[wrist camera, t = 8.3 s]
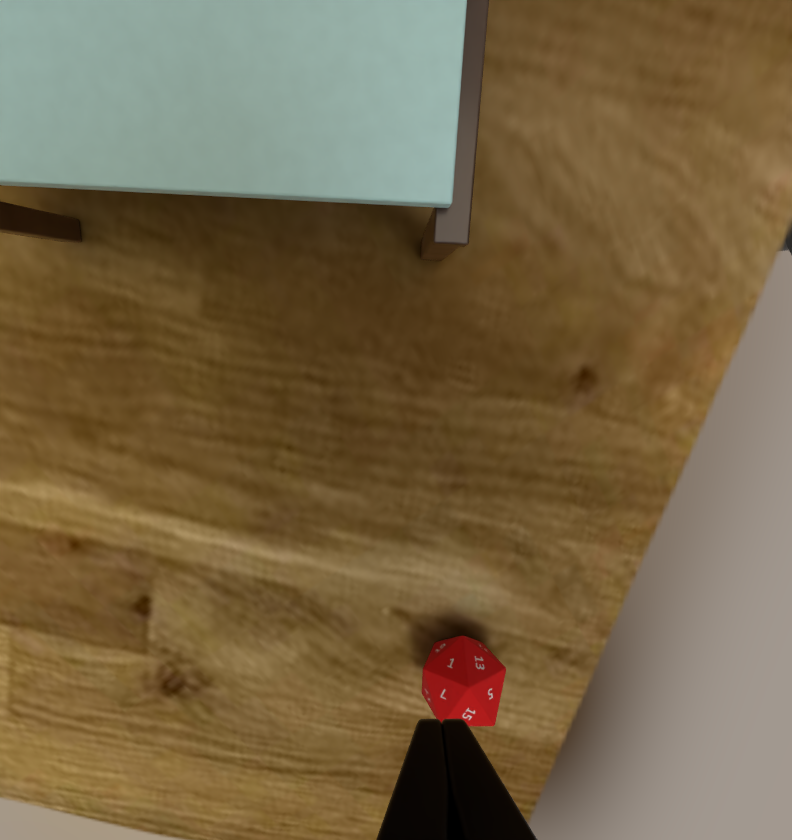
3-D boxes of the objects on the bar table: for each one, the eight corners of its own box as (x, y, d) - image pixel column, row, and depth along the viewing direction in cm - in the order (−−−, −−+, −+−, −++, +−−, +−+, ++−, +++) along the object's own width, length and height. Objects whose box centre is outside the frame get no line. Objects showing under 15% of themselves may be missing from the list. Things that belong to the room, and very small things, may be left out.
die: (496, 616, 20) (455, 703, 17) (533, 675, 21) (498, 767, 18) (433, 612, 22) (388, 687, 20) (468, 664, 23) (429, 743, 20)
